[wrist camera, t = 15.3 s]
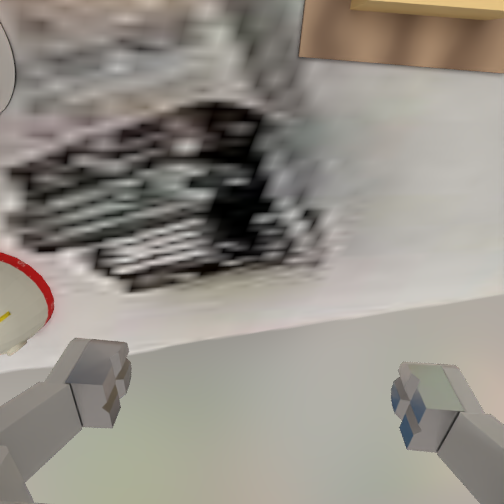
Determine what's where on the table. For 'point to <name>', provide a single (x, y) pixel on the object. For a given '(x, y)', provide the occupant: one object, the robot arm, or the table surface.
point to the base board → (400, 38)
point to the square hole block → (436, 8)
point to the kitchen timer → (21, 303)
